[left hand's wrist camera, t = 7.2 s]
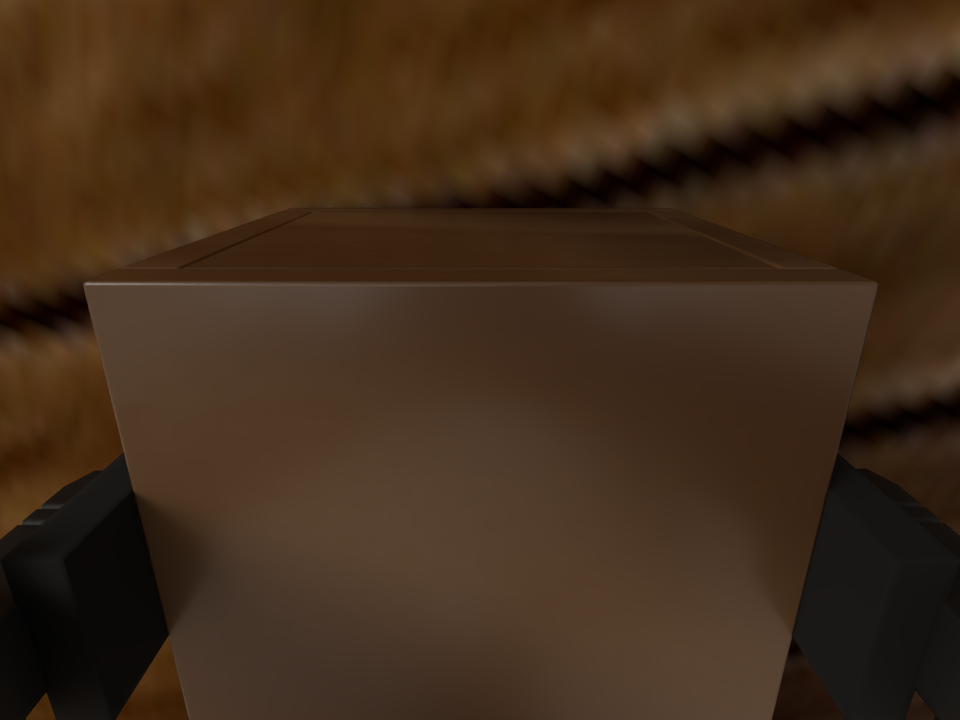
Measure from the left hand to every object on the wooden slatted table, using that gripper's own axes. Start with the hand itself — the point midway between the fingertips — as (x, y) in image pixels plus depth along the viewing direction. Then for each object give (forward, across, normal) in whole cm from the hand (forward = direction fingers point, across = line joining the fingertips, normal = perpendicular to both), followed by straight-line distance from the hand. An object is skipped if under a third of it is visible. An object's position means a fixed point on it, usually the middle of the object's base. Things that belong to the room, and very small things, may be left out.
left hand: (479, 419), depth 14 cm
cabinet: (+3, 0, -6) cm, 7 cm away
